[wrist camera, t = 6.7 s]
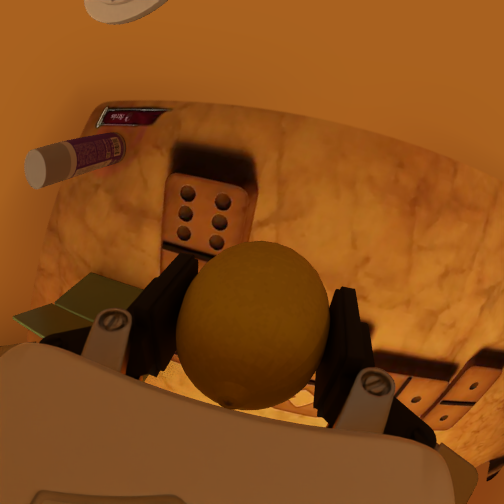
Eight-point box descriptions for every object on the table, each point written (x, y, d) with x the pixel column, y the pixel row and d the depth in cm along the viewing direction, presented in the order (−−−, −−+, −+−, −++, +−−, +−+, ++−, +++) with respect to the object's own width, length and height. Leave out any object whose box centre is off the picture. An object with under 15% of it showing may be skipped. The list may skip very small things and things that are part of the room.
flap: (51, 305, 38) (51, 303, 38) (112, 333, 37) (112, 330, 37) (12, 318, 30) (12, 316, 30) (73, 355, 28) (73, 352, 28)
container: (107, 127, 36) (27, 142, 23) (130, 139, 36) (49, 157, 23) (98, 156, 38) (21, 179, 25) (119, 168, 38) (43, 197, 25)
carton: (90, 272, 48) (51, 304, 38) (149, 291, 46) (112, 332, 36) (105, 342, 56) (76, 376, 46) (156, 362, 55) (130, 402, 44)
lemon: (350, 255, 13) (372, 397, 6) (287, 329, 16) (261, 460, 9) (249, 192, 13) (169, 289, 6) (200, 279, 16) (124, 393, 9)
